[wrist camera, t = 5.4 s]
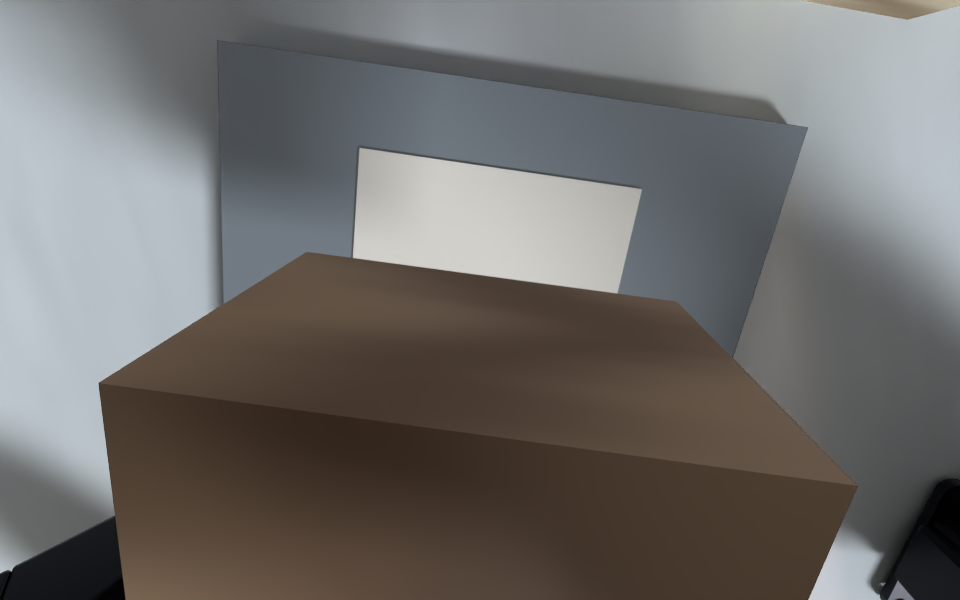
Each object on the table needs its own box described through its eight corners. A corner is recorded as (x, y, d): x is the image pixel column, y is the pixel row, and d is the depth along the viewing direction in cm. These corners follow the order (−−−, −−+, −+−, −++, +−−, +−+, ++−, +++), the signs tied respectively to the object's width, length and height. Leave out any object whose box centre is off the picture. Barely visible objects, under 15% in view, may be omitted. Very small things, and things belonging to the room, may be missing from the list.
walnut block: (676, 301, 8) (858, 485, 4) (591, 623, 11) (650, 961, 6) (306, 251, 8) (98, 382, 4) (300, 584, 11) (162, 893, 6)
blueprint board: (790, 127, 17) (809, 127, 16) (676, 485, 21) (686, 504, 20) (233, 45, 17) (215, 39, 15) (239, 422, 21) (225, 438, 20)
